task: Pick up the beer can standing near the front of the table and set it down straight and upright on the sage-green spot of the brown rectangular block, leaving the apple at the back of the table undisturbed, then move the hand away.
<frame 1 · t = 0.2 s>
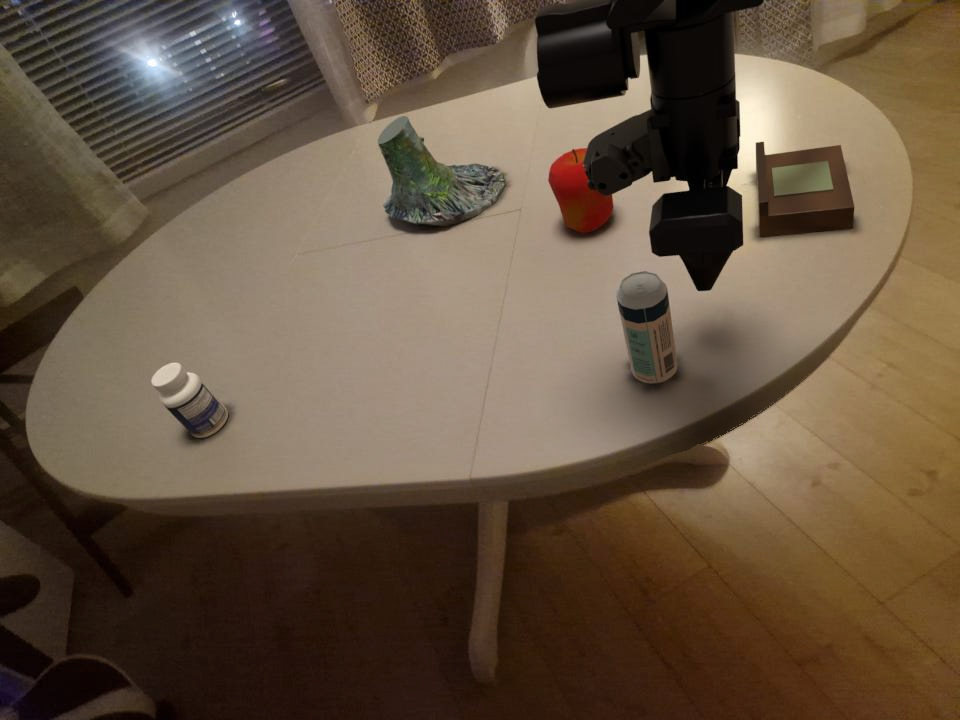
hand: (705, 255, 56), 15 cm above the table, tool pointing down, fingers open, 9 cm apart
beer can: (654, 371, 70), on the table
brown rectangular block: (800, 200, 82), on the table
pill bottle: (211, 424, 86), on the table
apple: (590, 224, 93), on the table
tree stump: (447, 202, 110), on the table
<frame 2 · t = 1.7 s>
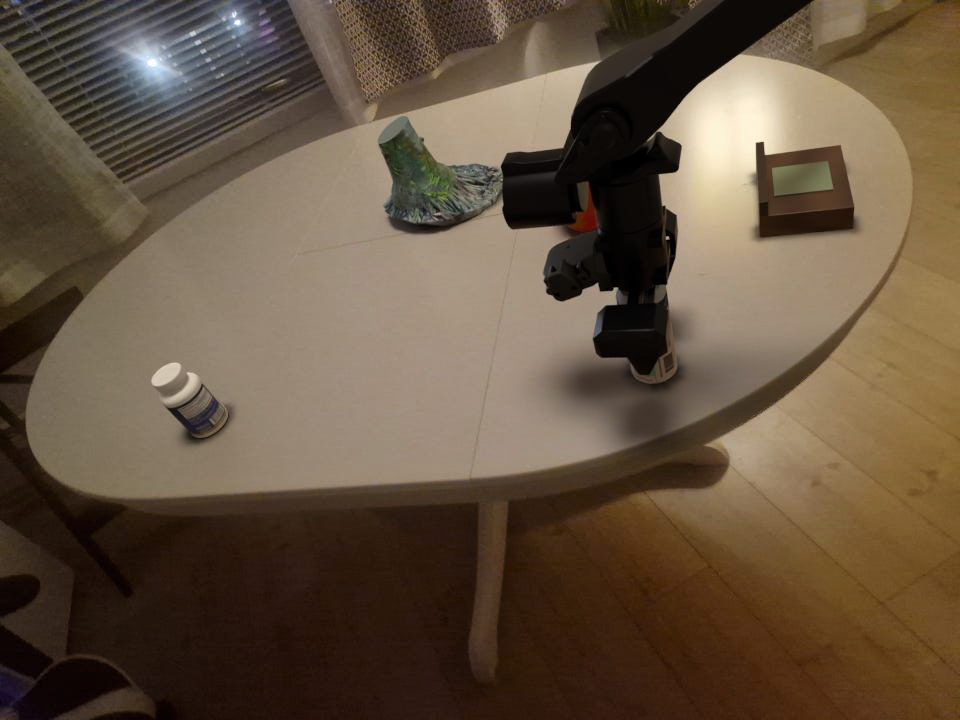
hand: (648, 341, 67), 4 cm above the table, tool pointing down
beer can: (654, 371, 70), on the table, touching gripper
everything else where it was.
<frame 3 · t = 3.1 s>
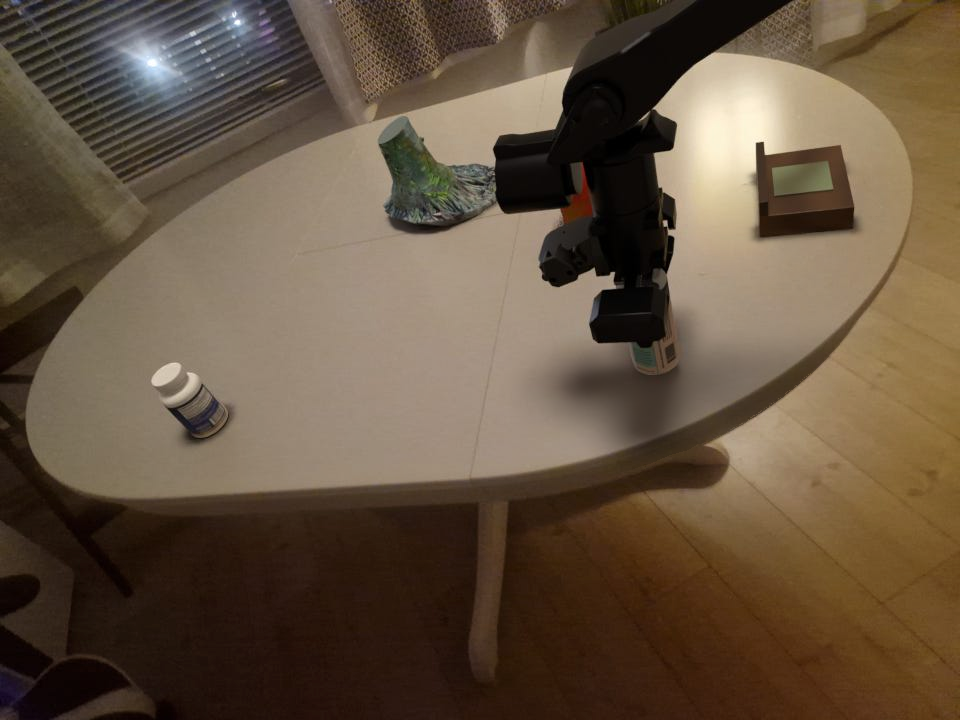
hand: (647, 328, 66), 6 cm above the table, tool pointing down, fingers closed on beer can, 5 cm apart
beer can: (656, 362, 69), point 1 cm above the table, touching gripper
everything else where it was.
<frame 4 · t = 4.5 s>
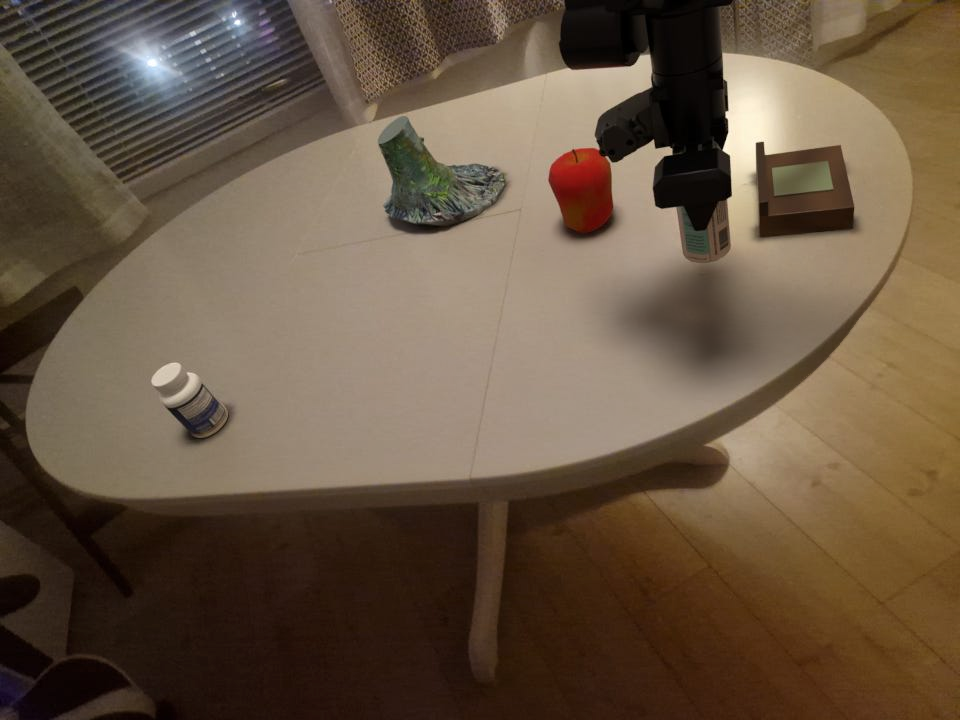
hand: (700, 214, 65), 13 cm above the table, tool pointing down, fingers closed on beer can, 5 cm apart
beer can: (707, 254, 68), point 8 cm above the table, touching gripper
everything else where it was.
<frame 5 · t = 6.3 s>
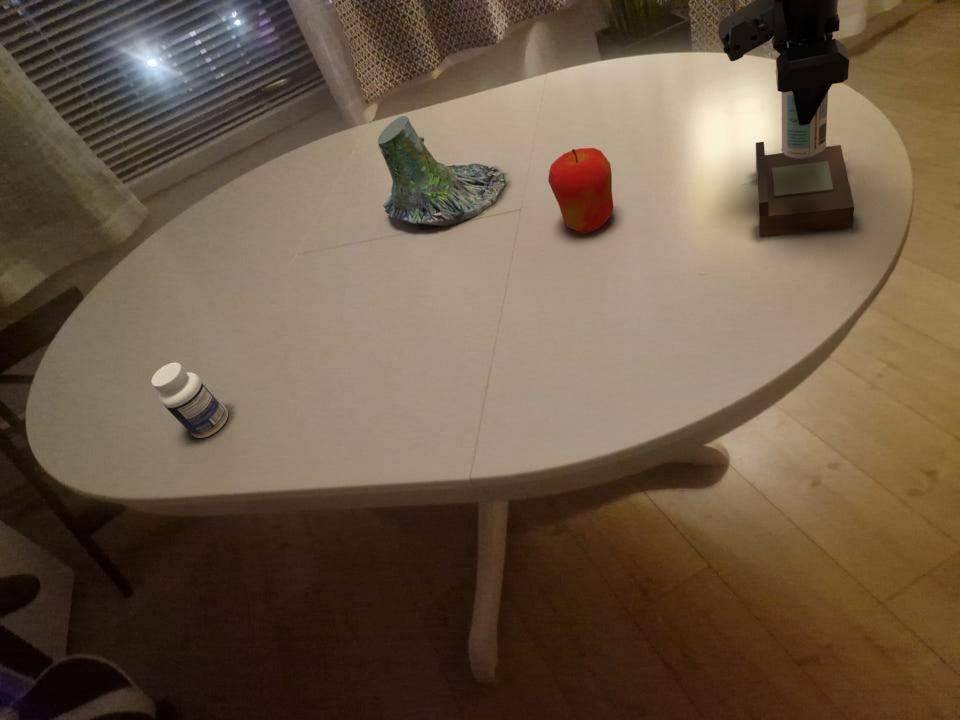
hand: (802, 113, 74), 12 cm above the table, tool pointing down, fingers closed on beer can, 5 cm apart
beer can: (803, 152, 77), point 7 cm above the table, touching gripper
everything else where it was.
when the fingers open (8 cm above the table, at t = 7.5 s): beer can stays where it is, resting on brown rectangular block.
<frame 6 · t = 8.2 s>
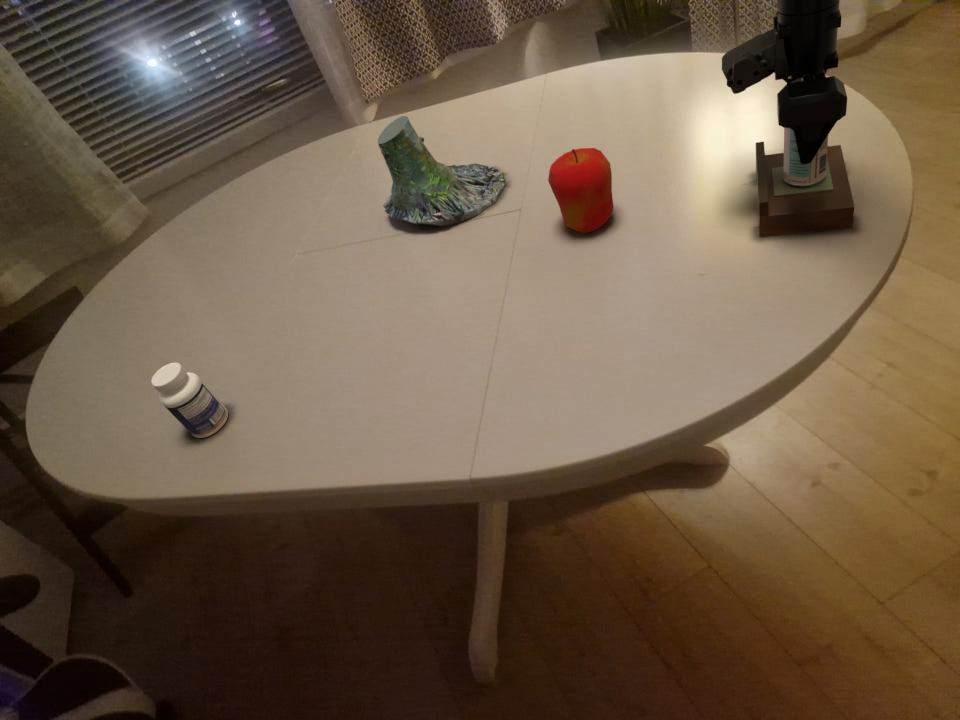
hand: (802, 142, 77), 8 cm above the table, tool pointing down, fingers open, 9 cm apart
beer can: (804, 179, 80), point 3 cm above the table, touching brown rectangular block
everything else where it was.
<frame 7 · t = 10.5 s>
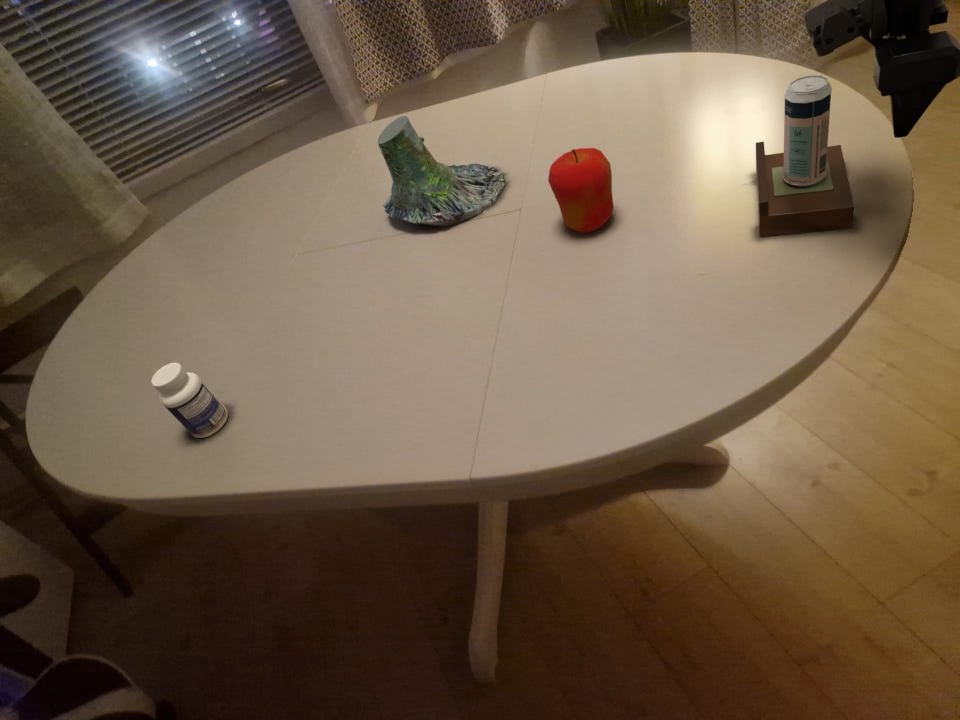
hand: (893, 115, 67), 13 cm above the table, tool pointing down, fingers open, 9 cm apart
nothing on the table moved.
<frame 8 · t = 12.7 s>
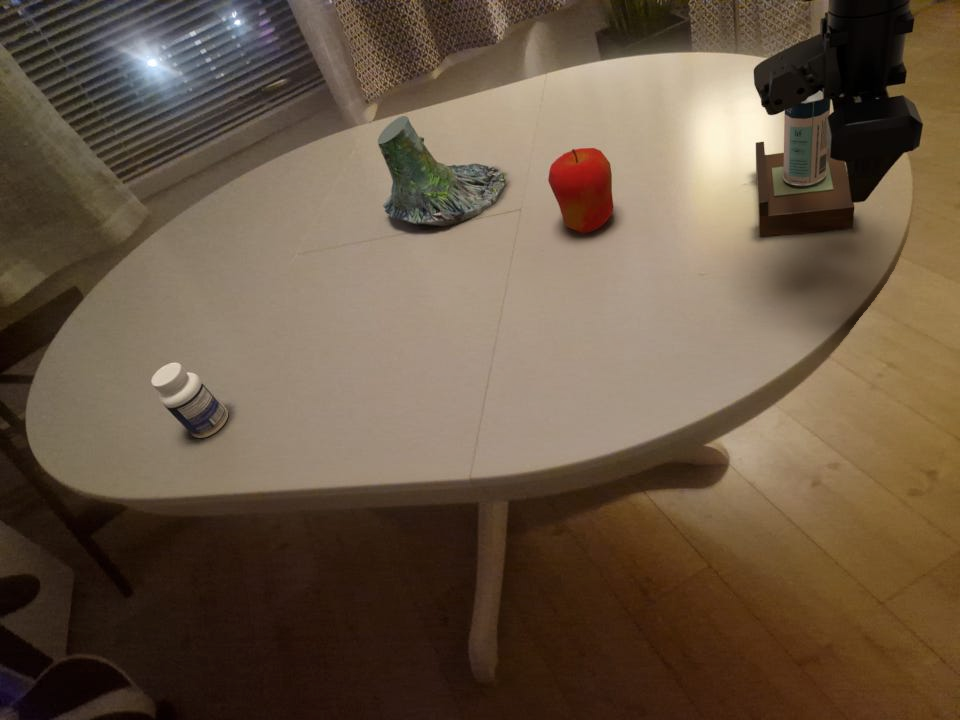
hand: (851, 174, 62), 13 cm above the table, tool pointing down, fingers open, 9 cm apart
nothing on the table moved.
at the end: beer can 0.4 cm off-centre on the brown rectangular block, point 3.0 cm above the brown rectangular block's base; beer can tilted 0°; apple moved 0.2 cm from its start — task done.
